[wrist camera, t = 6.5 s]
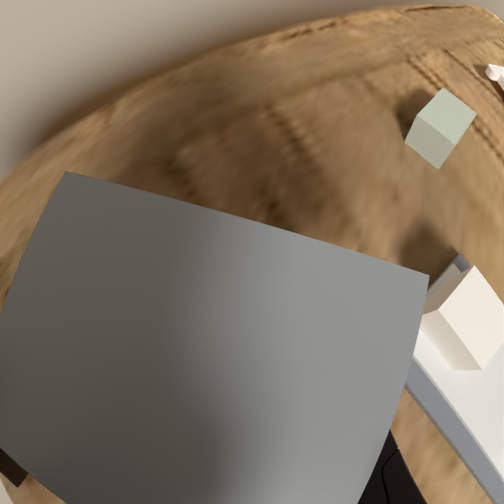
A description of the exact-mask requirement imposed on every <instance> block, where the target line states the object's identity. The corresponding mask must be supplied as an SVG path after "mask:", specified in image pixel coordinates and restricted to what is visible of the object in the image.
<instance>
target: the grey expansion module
mask: <svg viewBox="0 0 504 504" xmlns="http://www.w3.org/2000/svg"><path fill="white" fill-rule="evenodd" d="M429 276H430V275H427V274H424V273H421V272H418V271H415V270H412V269H409V268H406V267H403V266H400V265H396V264H393V263H390V262H387V261H384V260H381V259H378V258H375V257H372V256H368V255H365V254H362V253H359V252H356V251H352V250H349V249H346V248H343V247H340V246H336V245H333V244H330V243H327V242H323V241H320V240H317V239H313V238H310V237H307V236H303V235H300V234H297V233H293V232H290V231H287V230H283V229H280V228H276V227H273V226H270V225H266V224H263V223H259V222H256V221H252V220H249V219H245V218H242V217H238V216H235V215H231V214H228V213H224V212H221V211H217V210H214V209H210V208H206V207H203V206H199V205H195V204H192V203H188V202H184V201H181V200H177V199H173V198H170V197H166V196H162V195H158V194H155V193H151V192H147V191H143V190H139V189H135V188H132V187H128V186H124V185H120V184H116V183H112V182H108V181H104V180H100V179H96V178H92V177H88V176H84V175H80V174H76V173H72V172H67V171H65V173H64V174H63V176H62V178H61V180H60V181H59V183H58V185H57V187H56V189H55V190H54V192H53V194H52V196H51V198H50V200H49V201H48V203H47V205H46V207H45V209H44V211H43V213H42V215H41V217H40V219H39V221H38V223H37V225H36V227H35V229H34V231H33V234H32V236H31V238H30V240H29V242H28V245H27V247H26V249H25V251H24V254H23V256H22V258H21V261H20V263H19V266H18V268H17V270H16V273H15V275H14V278H13V281H12V283H11V286H10V289H9V291H8V294H7V297H6V300H5V303H4V306H3V309H2V312H1V315H0V448H1V449H2V450H3V451H4V452H5V453H7V454H8V455H9V456H10V457H11V458H12V459H13V460H14V461H15V462H16V463H17V464H18V465H20V466H21V467H22V468H23V469H24V470H25V471H26V472H28V473H29V474H30V475H31V476H32V477H33V478H35V479H36V480H37V481H38V482H40V483H41V484H42V485H43V486H45V487H46V488H47V489H48V490H50V491H51V492H52V493H54V494H55V495H56V496H58V497H59V498H60V499H62V500H63V501H65V502H66V503H67V504H357V503H358V501H359V499H360V497H361V495H362V493H363V491H364V489H365V487H366V485H367V483H368V480H369V478H370V476H371V474H372V472H373V469H374V467H375V465H376V462H377V460H378V458H379V455H380V453H381V450H382V448H383V445H384V443H385V440H386V437H387V435H388V432H389V430H390V427H391V424H392V421H393V418H394V416H395V413H396V410H397V407H398V404H399V401H400V398H401V395H402V391H403V388H404V385H405V382H406V378H407V375H408V371H409V368H410V364H411V360H412V357H413V353H414V349H415V345H416V341H417V337H418V332H419V328H420V324H421V319H422V314H423V309H424V304H425V299H426V294H427V288H428V282H429Z"/></svg>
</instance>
